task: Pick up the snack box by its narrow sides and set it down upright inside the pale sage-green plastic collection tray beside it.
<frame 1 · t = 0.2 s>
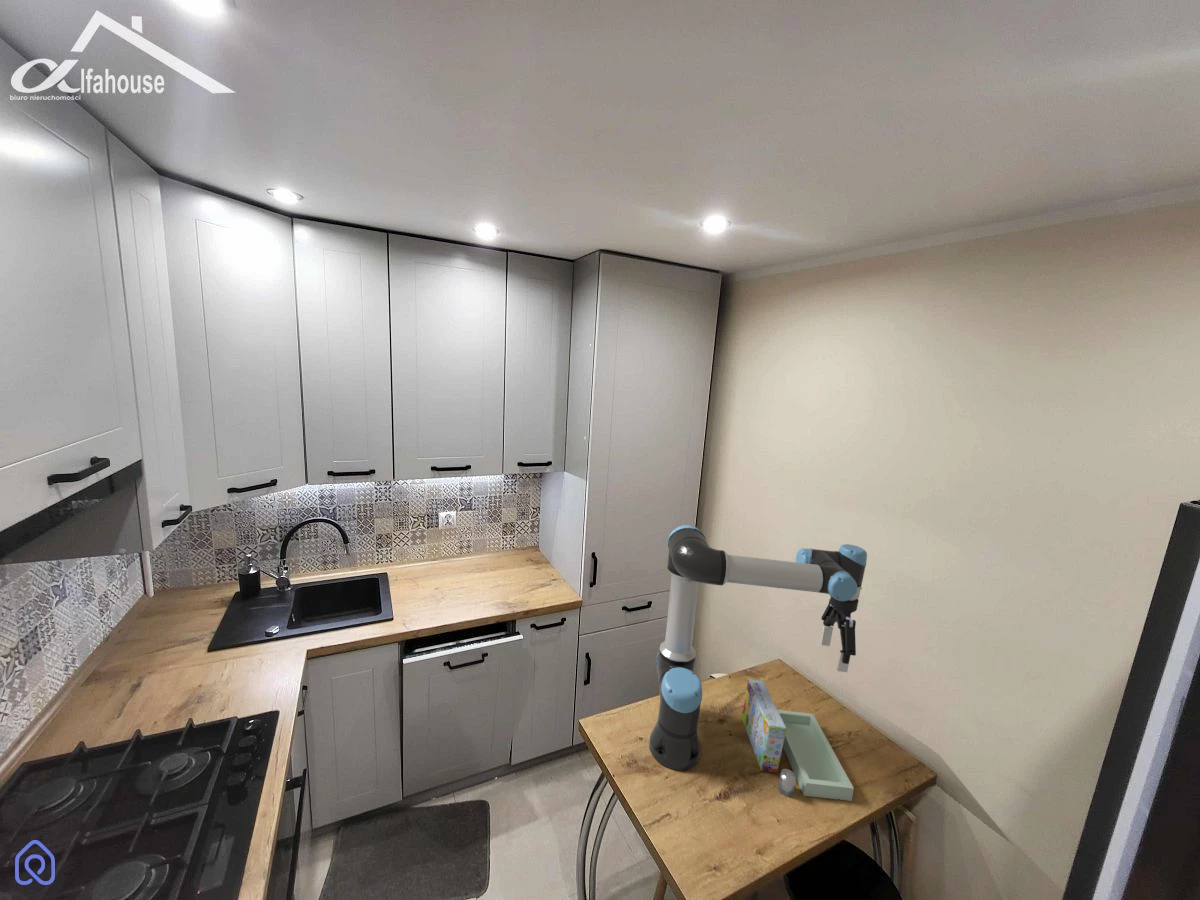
hand: (833, 657, 147), 27 cm above the table, fingers open, 13 cm apart
snack box: (758, 744, 145), on the table
tray: (807, 756, 142), on the table
metal part: (785, 790, 129), on the table
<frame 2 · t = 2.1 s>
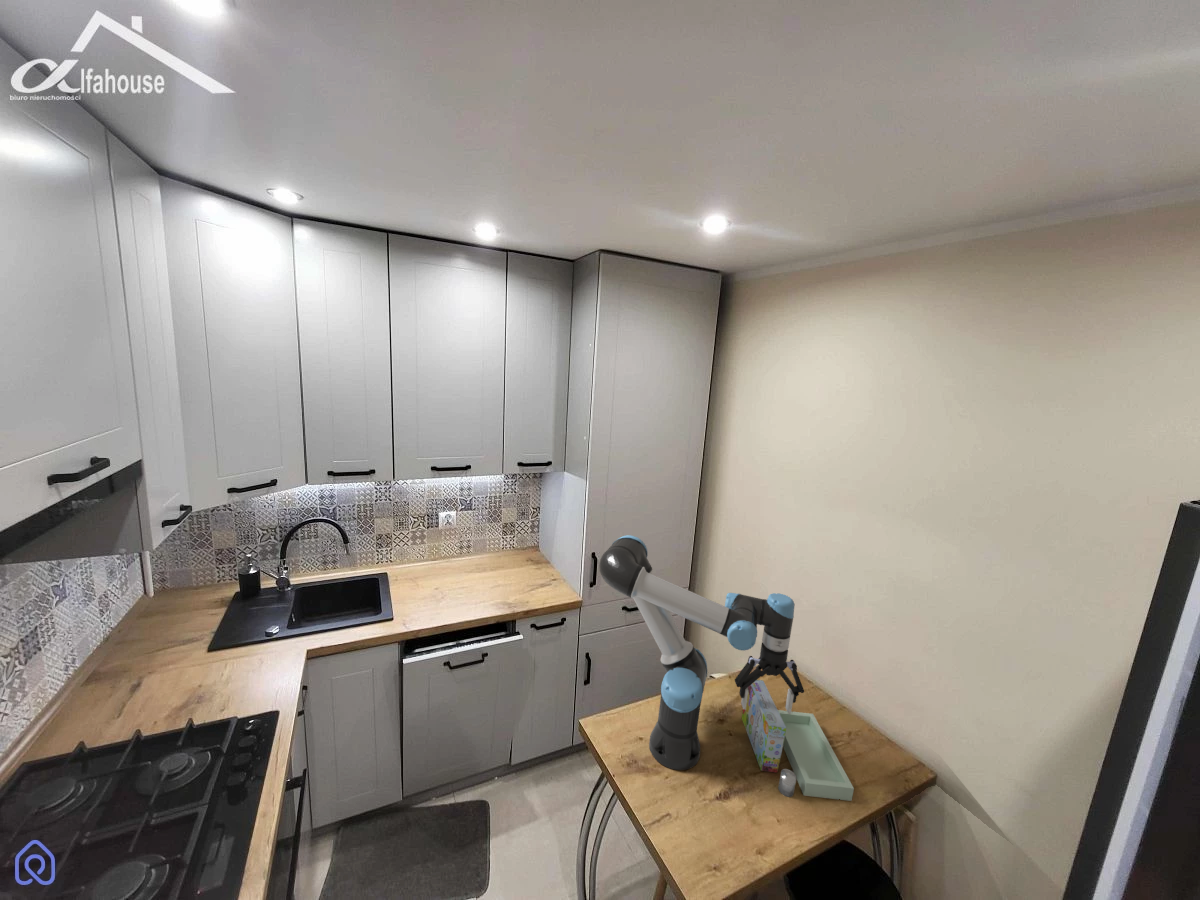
hand: (765, 708, 143), 12 cm above the table, fingers open, 13 cm apart
nothing on the table moved.
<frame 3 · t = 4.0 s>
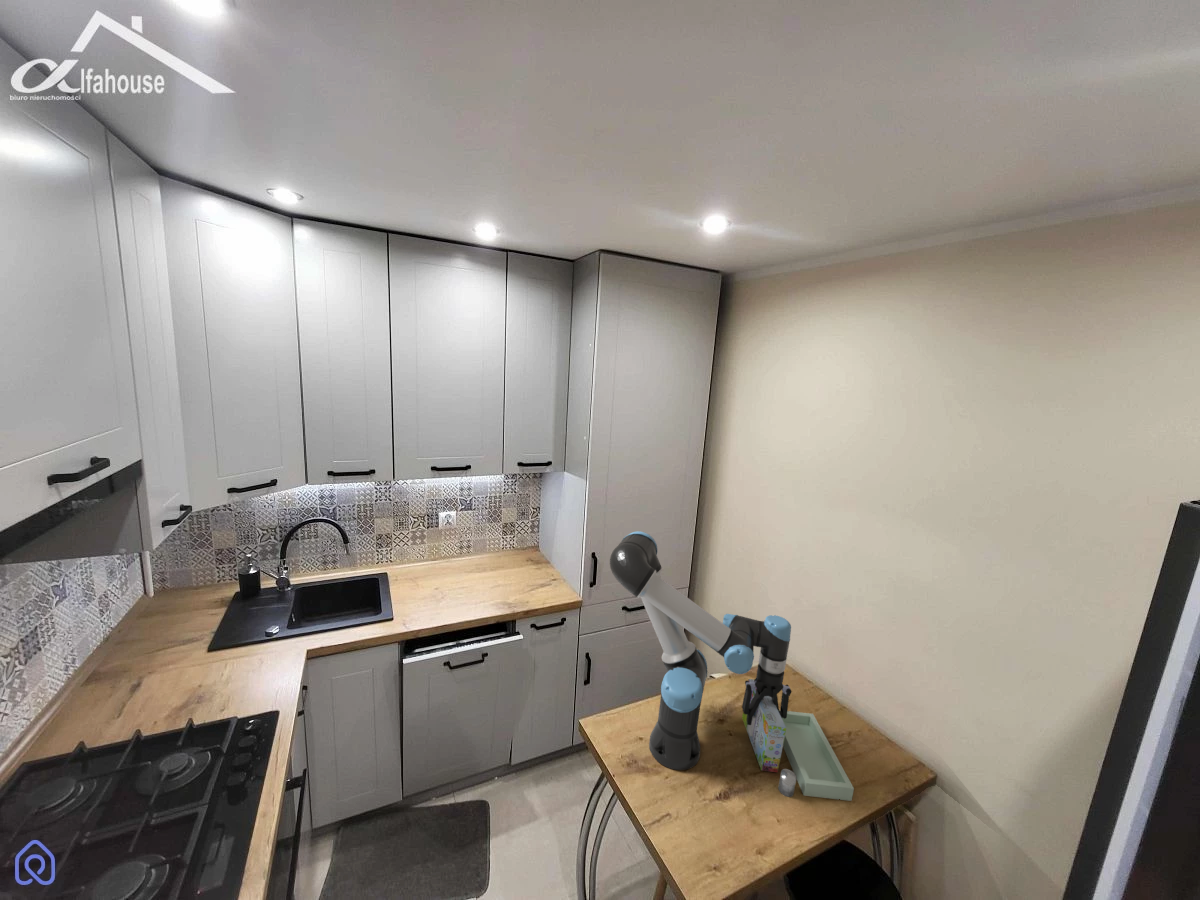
hand: (760, 734, 145), 3 cm above the table, fingers closed on snack box, 6 cm apart
snack box: (758, 744, 145), on the table, touching gripper
everything else where it was.
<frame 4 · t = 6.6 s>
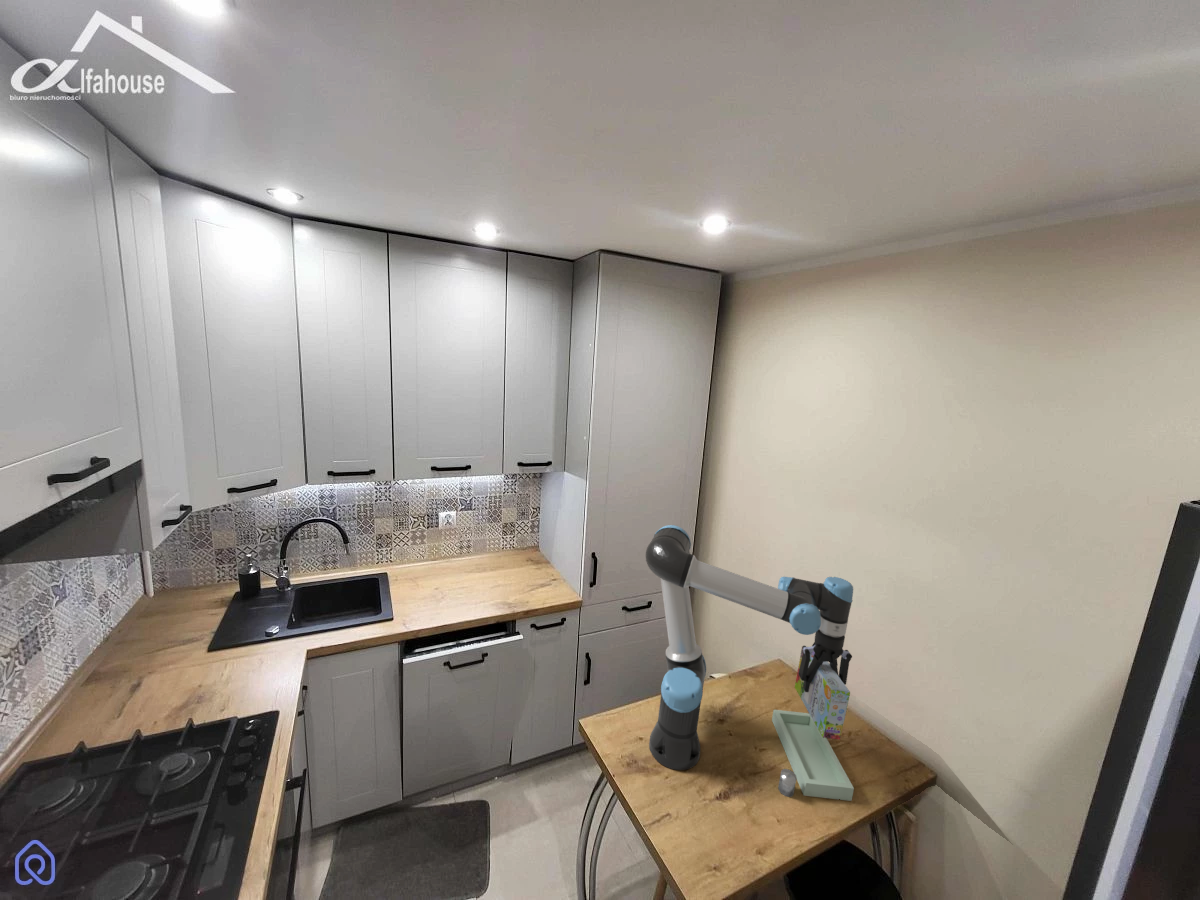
hand: (817, 701, 139), 19 cm above the table, fingers closed on snack box, 6 cm apart
snack box: (815, 712, 139), point 15 cm above the table, touching gripper
everything else where it was.
when the fingers open (6 cm above the table, at t = 9.7 s): snack box drops 1 cm, resting on tray.
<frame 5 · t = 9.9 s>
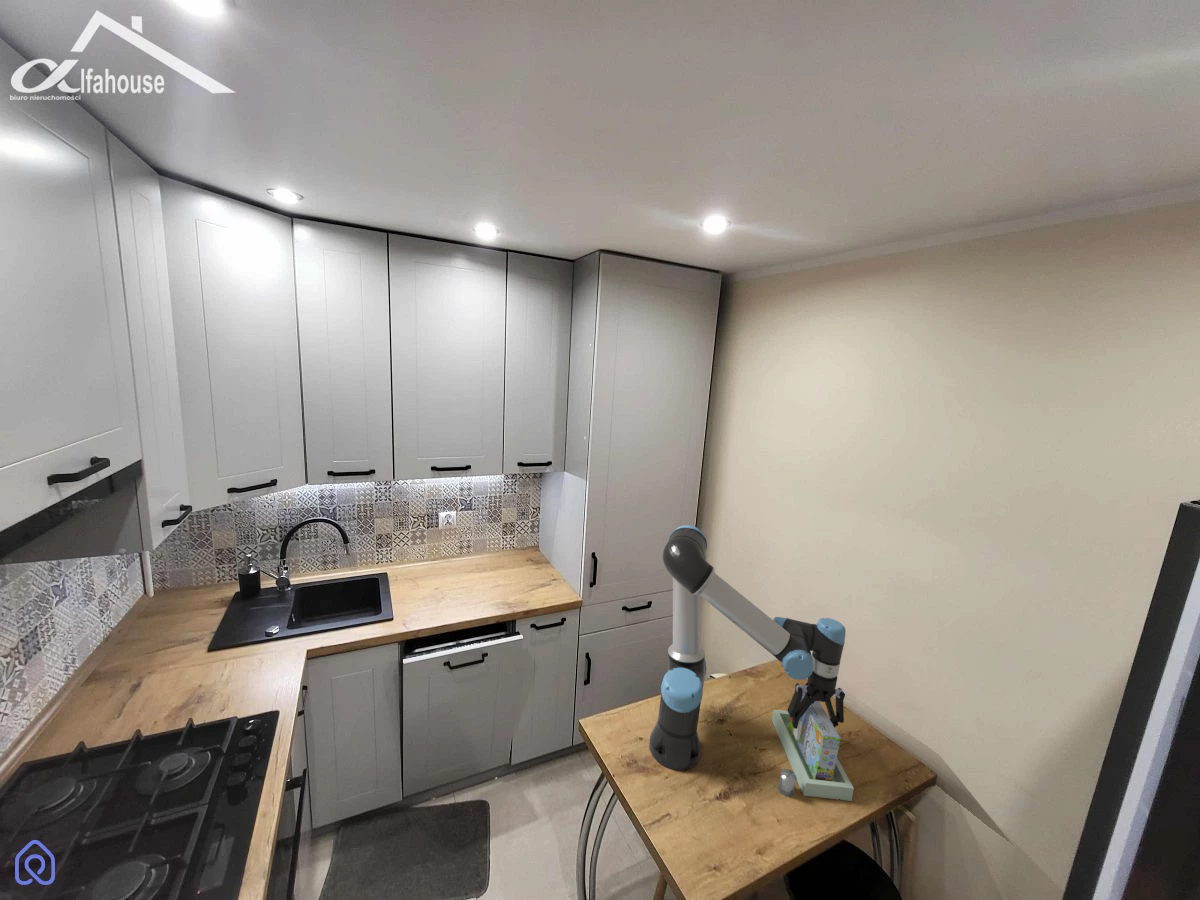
hand: (811, 738, 141), 6 cm above the table, fingers open, 8 cm apart
snack box: (808, 754, 142), point 1 cm above the table, touching tray
everything else where it was.
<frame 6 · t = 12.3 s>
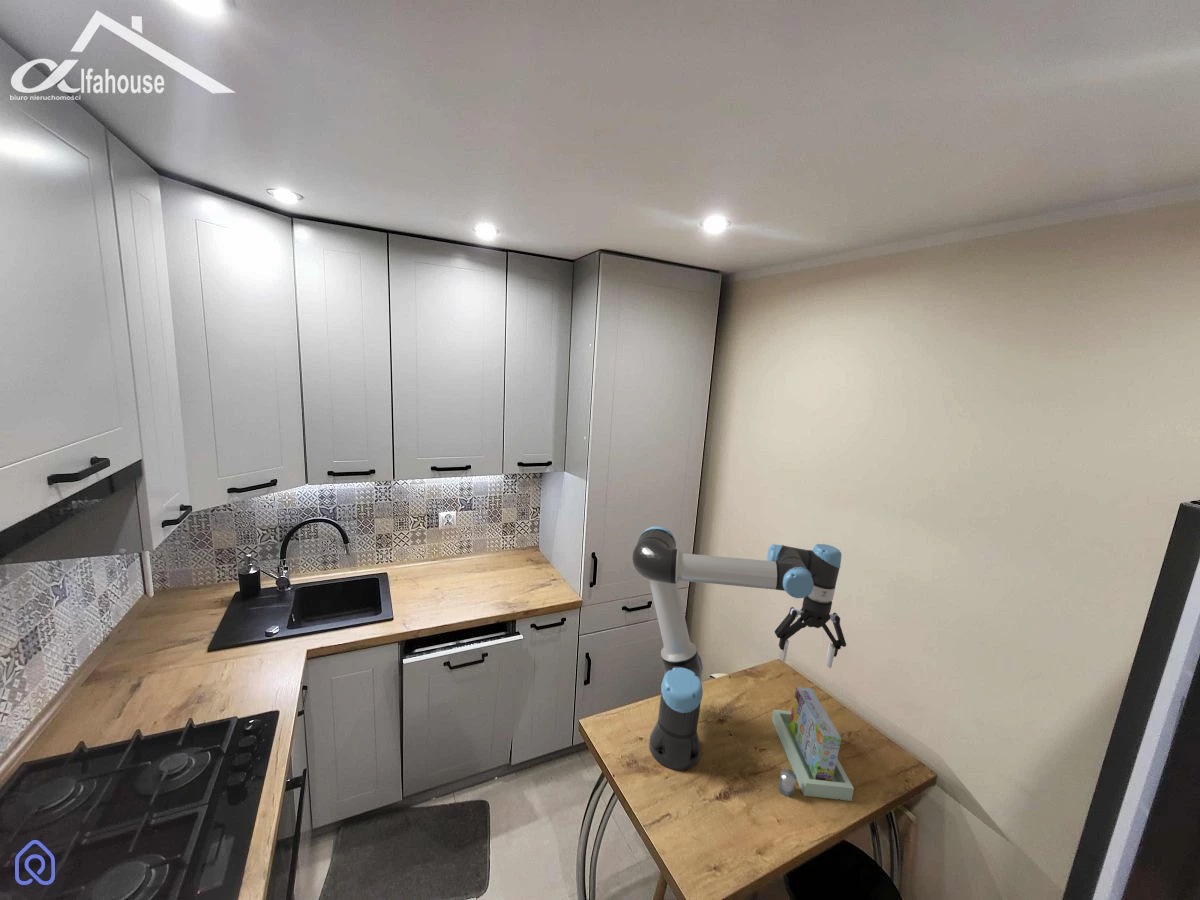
hand: (805, 661, 140), 29 cm above the table, fingers open, 13 cm apart
nothing on the table moved.
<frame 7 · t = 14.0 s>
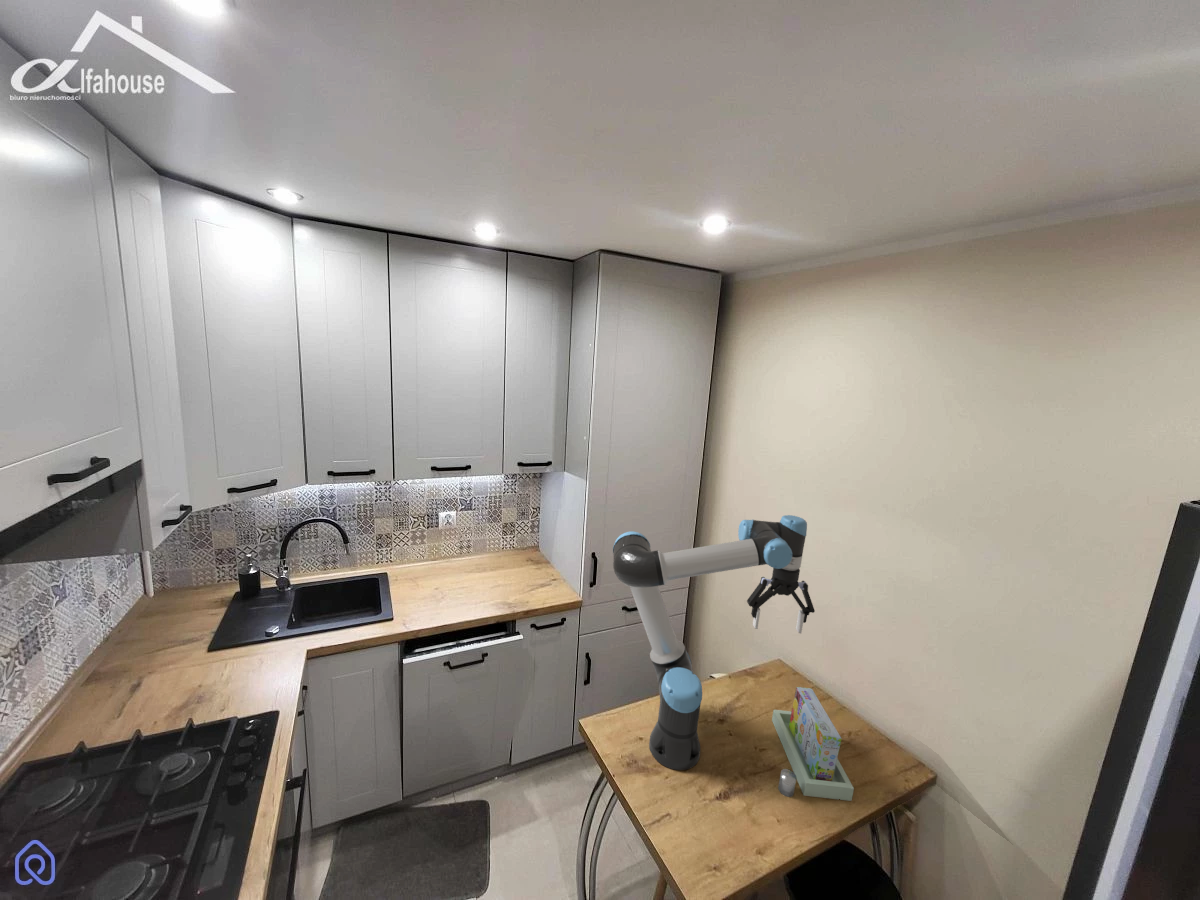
hand: (776, 628, 147), 35 cm above the table, fingers open, 13 cm apart
nothing on the table moved.
at the end: snack box inside the target area on the tray (0.2 cm from its centre), point 0.8 cm above the tray's base; snack box tilted 0°; the gripper is holding nothing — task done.
